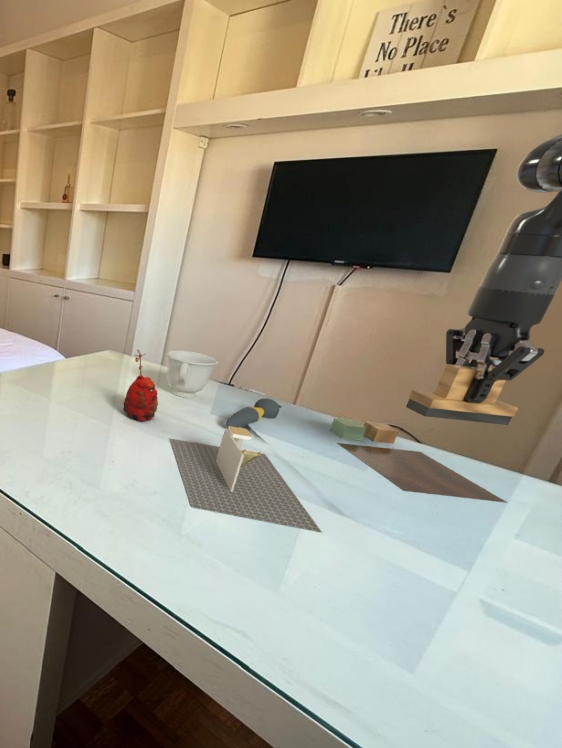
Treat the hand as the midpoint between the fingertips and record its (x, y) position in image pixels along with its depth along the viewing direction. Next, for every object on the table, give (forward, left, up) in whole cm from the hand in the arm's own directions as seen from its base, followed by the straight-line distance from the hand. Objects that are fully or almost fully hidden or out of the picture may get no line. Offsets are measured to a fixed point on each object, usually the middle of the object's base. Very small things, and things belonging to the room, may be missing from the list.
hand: (463, 398), depth 72 cm
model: (+32, +3, -17) cm, 37 cm away
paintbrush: (+17, -24, -17) cm, 34 cm away
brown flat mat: (-3, -6, -17) cm, 18 cm away
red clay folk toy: (+43, -21, -17) cm, 51 cm away
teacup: (+28, -39, -17) cm, 51 cm away
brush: (0, 0, -3) cm, 3 cm away
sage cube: (0, -18, -15) cm, 23 cm away
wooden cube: (-6, -18, -15) cm, 24 cm away
